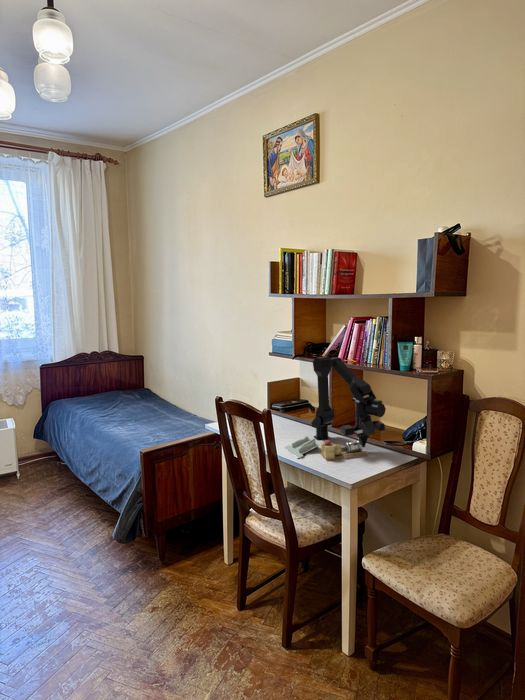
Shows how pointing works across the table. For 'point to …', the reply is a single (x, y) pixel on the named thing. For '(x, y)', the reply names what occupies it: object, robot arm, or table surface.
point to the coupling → (353, 447)
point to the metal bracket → (302, 446)
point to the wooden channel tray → (337, 452)
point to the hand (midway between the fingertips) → (363, 446)
